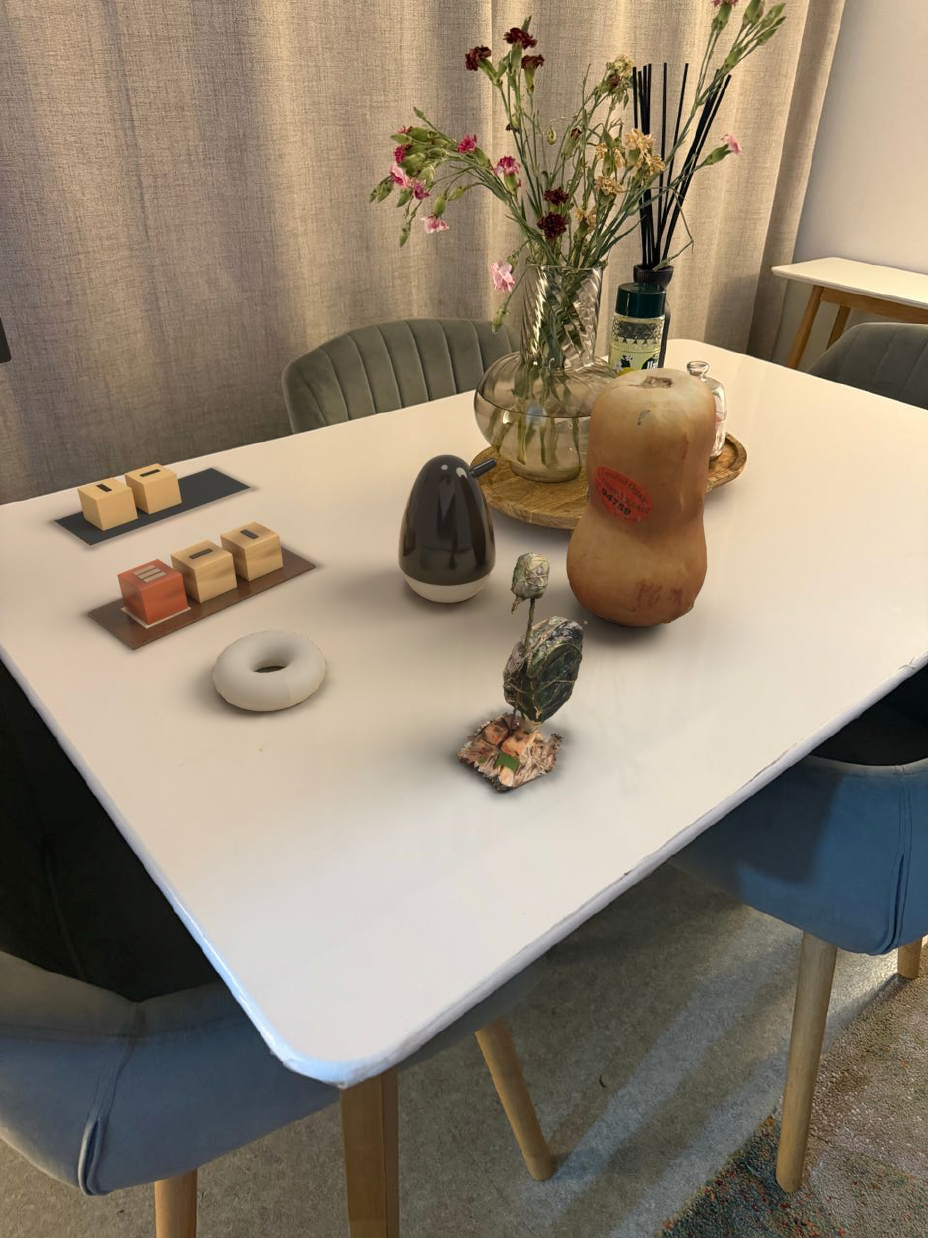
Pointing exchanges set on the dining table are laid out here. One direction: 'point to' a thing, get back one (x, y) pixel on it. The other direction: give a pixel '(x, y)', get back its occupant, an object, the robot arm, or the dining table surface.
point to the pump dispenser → (447, 531)
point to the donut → (271, 688)
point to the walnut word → (212, 581)
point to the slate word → (143, 500)
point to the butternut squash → (644, 499)
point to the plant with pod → (529, 688)
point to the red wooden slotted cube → (153, 591)
